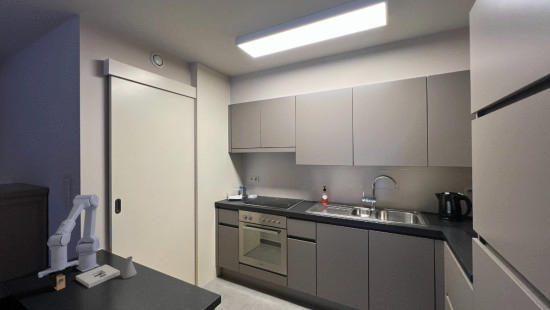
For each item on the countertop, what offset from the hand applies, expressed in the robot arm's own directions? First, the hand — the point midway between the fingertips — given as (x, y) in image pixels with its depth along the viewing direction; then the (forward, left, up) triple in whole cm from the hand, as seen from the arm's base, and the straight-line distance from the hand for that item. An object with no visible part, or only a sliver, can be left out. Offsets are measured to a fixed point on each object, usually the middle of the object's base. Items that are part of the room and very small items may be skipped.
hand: (59, 284), depth 109 cm
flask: (+20, +23, -2) cm, 31 cm away
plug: (0, 0, -2) cm, 2 cm away
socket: (+6, +14, -2) cm, 15 cm away
